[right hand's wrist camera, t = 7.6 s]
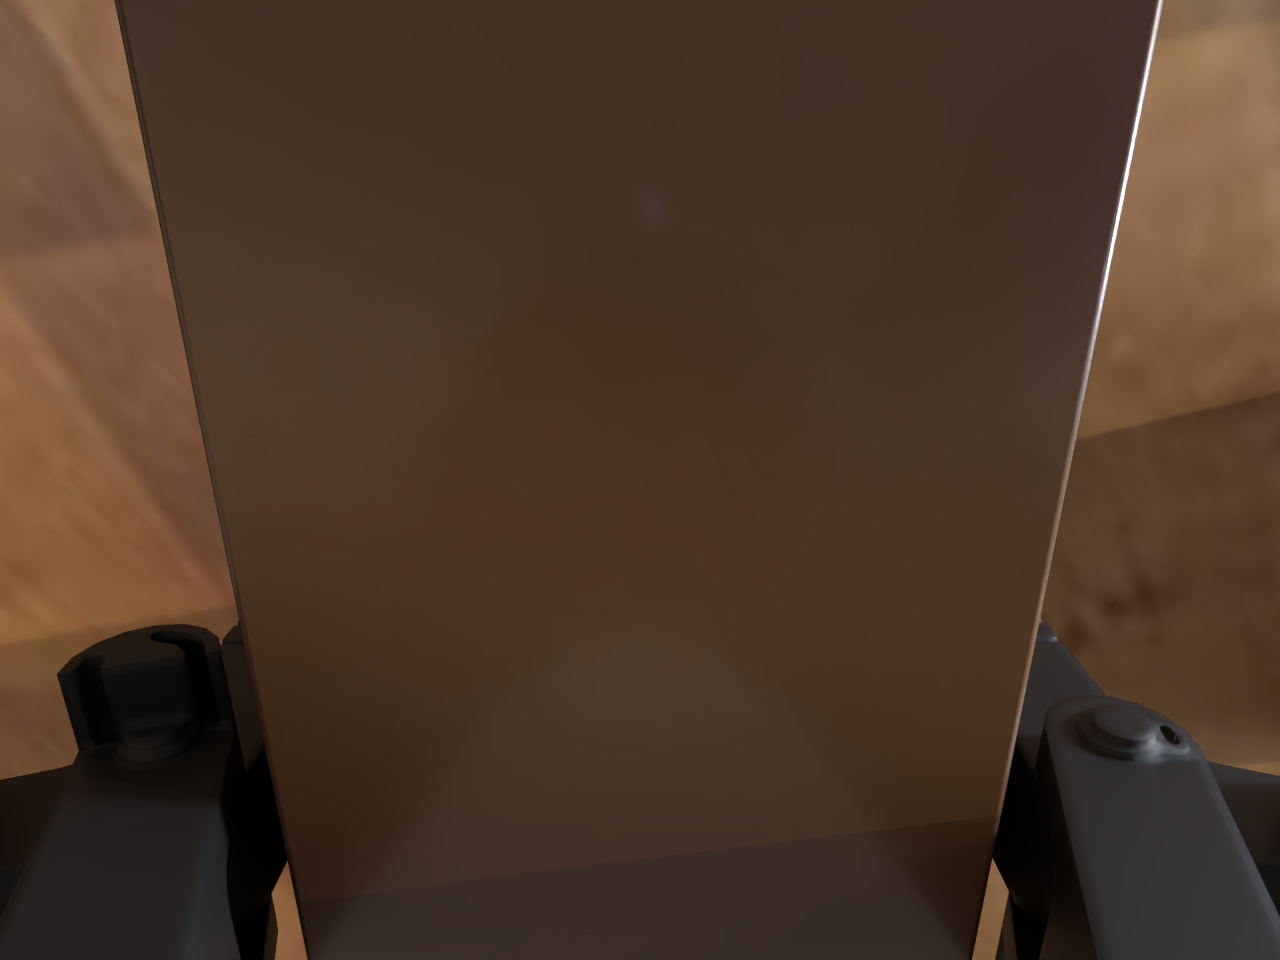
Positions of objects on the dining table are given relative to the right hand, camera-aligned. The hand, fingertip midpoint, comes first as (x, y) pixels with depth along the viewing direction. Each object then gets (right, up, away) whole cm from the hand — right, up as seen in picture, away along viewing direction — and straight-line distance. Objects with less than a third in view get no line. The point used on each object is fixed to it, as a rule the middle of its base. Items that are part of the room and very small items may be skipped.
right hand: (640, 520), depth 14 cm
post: (0, +32, -13) cm, 35 cm away
